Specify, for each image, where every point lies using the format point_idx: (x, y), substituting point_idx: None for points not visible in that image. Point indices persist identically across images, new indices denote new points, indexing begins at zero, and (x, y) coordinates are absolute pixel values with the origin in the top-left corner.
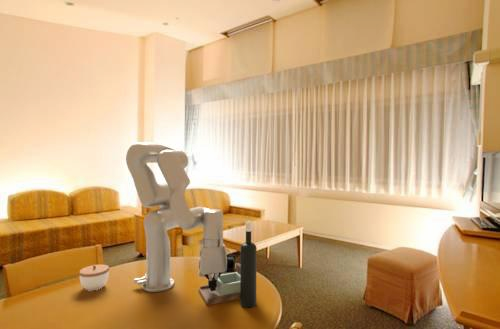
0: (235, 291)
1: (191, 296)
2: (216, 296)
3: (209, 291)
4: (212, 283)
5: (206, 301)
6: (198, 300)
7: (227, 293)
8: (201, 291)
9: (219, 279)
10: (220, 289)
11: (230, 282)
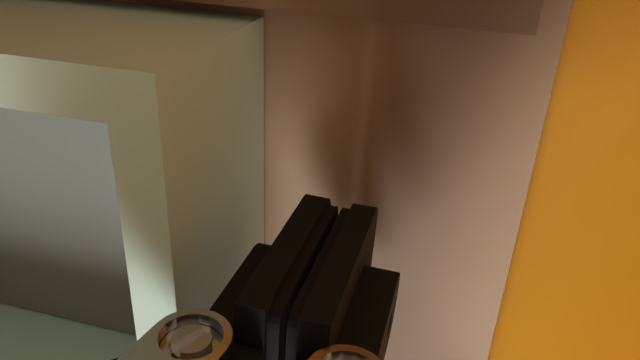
0: (6, 2)
1: (630, 354)
2: (334, 98)
3: None
4: (328, 285)
5: (566, 25)
6: (604, 204)
7: (146, 14)
8: (477, 352)
9: None
10: (224, 133)
11: (39, 306)
